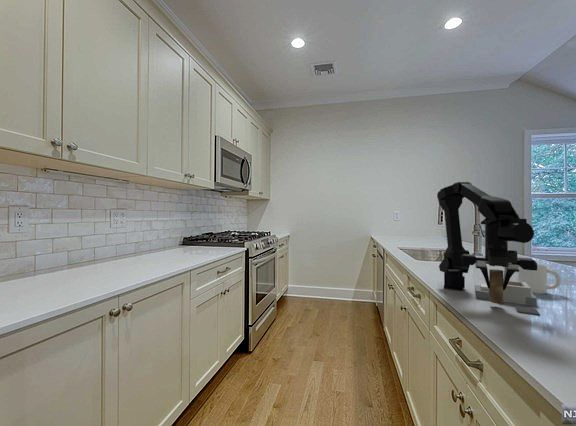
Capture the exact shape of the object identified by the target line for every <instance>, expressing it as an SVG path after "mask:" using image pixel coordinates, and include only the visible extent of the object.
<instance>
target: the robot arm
mask: <svg viewBox="0 0 576 426" xmlns="http://www.w3.org/2000/svg"><path fill="white" fill-rule="evenodd" d="M436 198H437V200H438V204H439V206H440V208H441V209H442V210H443V212H444V222H445V223H444V224H445V231H446V232H445V234H446V243H447V247H446V249H445V251H444V253H443V259H442V261H441V262H440V264H439V265H438V268H439V271H440V272H442V273H444V274H443V275H444V276H443V278H444V279H443V280H444V281H443V282H444V283H443V288H444V289H450V290H457V291H464V289H465V288H466V287H465V285H466V284H465V283H466V282H465V279H466V278H465V275H464V274H468V273H469V270H470V267H471V266H474V265H475V268H476V269H479V270H480V272H481V273H482V275H483V278H484V280H485V281H484V282H485V284H487V287H488V288H490V283H489V272H488V271H489V269H488V266H490V267H503V268H504V269H503V290H505V289H506V287H507V284H508V282H509V281H511V280H510V279H511V278H512V276H513V275H514V274H515V273H518V272H519V269H518V267H519V266H520V267H521V268H522V269H524V270H535V271H536V270H537V263H538V262H537V261H536V260H534V259H533V258H530V257H518V251H517V250H513V249H512V250H511V249H510V250H509V246H508V244H509V242H512V243H513V242H514V243H520V244H527V243H530V242H531V240H533V238H534V237H535V230H534V229H533V227H532V226H531V224H530V223H527V222H528V221H527V218H521V217H520V216H519V215H518V213H517V212H516V210H515V209H514V207H513V204H512V202H511V201H510V200H508V199H505V198H503V197H498V196H493V195H490V194H488V193H486V192H485V191H483V190H481V189H480V188H478V187H476V186H475V185H473V184H472V183H471V182H469V181H457V182H454V183H453V184H451V185H448V186H445V187H443V188H440V190H439V191H438V192H437V197H436ZM464 198H465V199H467V200H468V201H470V202H471V203H472V204H474V205H475V206H476V207H477V211H478V212H479V213H480V214H481V215H482V216H483V217H484V219H483V220H481V221H480V225H484V257H478V256H476V254H471V253H470V251H469V250H466V249H465V247H464V246H463V239H462V229H461V220H460V210H459V209H460V207H461V206H462V204H463V199H464ZM487 265H488V266H487Z"/></svg>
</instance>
